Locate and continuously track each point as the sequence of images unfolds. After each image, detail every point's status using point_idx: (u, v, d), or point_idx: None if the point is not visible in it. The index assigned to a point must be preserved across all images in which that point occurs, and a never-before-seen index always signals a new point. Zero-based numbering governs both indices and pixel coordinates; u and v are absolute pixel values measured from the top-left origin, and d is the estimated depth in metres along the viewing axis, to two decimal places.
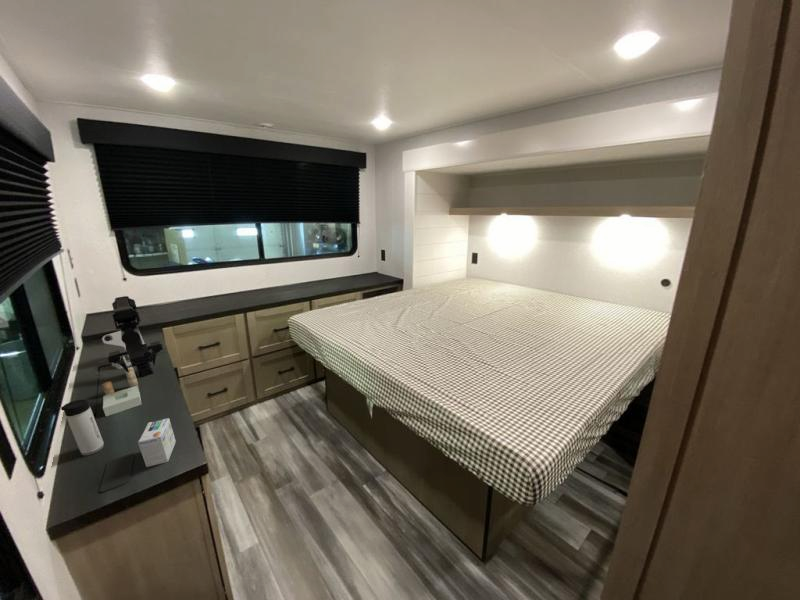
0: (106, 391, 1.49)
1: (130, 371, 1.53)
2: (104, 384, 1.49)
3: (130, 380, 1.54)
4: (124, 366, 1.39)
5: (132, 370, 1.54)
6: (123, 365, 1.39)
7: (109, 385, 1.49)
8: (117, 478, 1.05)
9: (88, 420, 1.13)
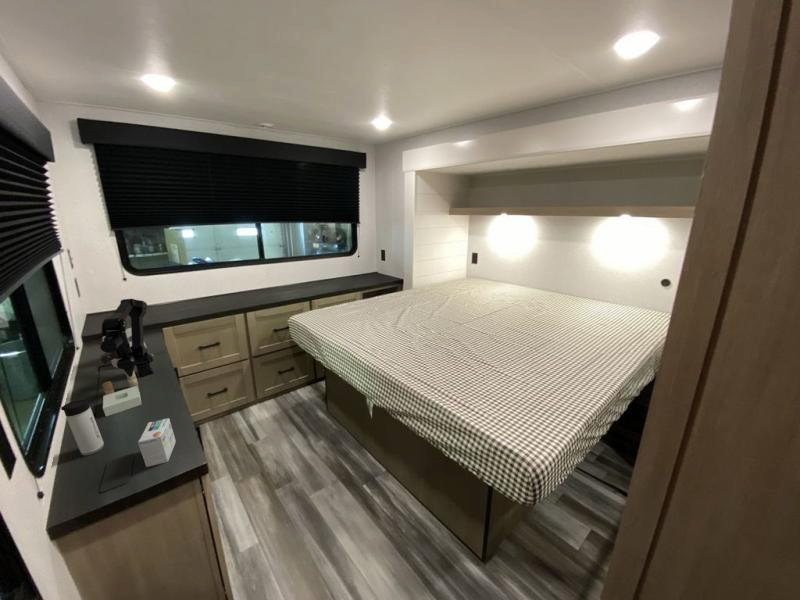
0: (106, 391, 1.49)
1: None
2: (104, 384, 1.49)
3: (130, 380, 1.54)
4: None
5: None
6: None
7: (109, 385, 1.49)
8: (117, 478, 1.05)
9: (88, 420, 1.13)
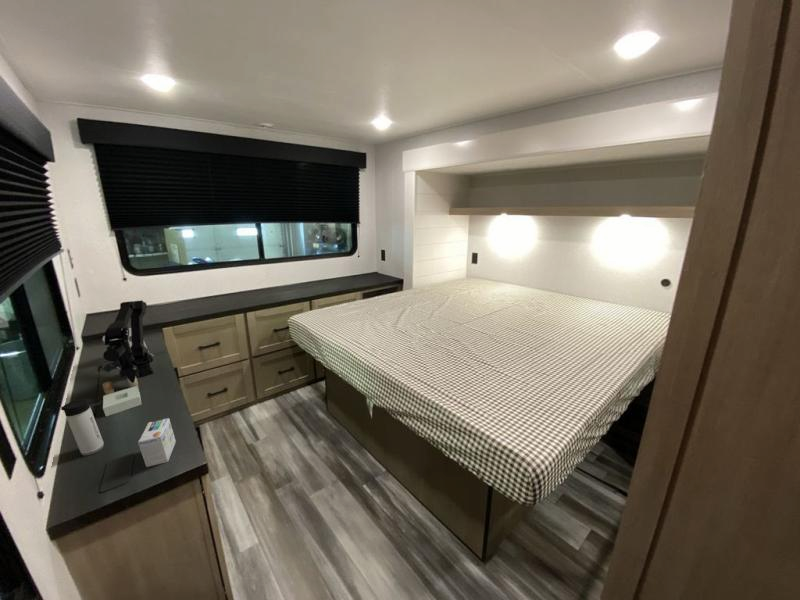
0: (106, 391, 1.49)
1: None
2: (104, 384, 1.49)
3: None
4: None
5: None
6: None
7: (109, 385, 1.49)
8: (117, 478, 1.05)
9: (88, 420, 1.13)
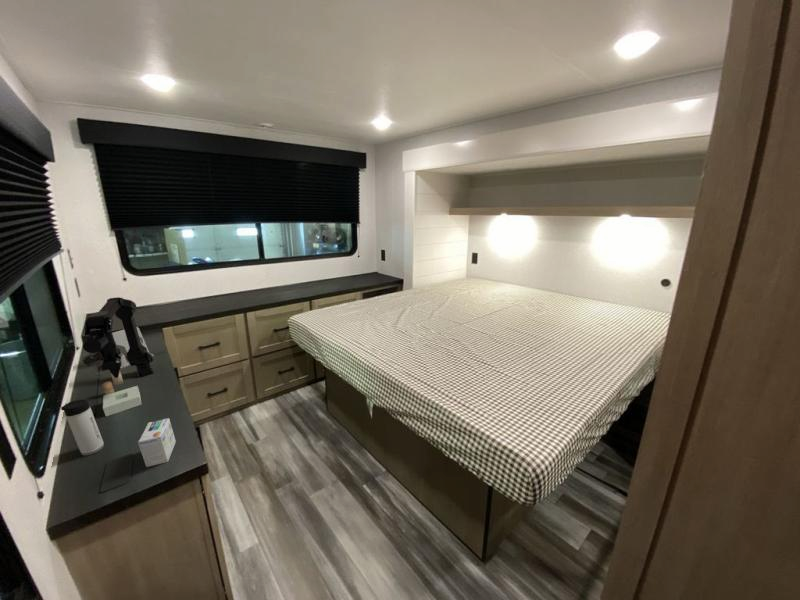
0: (106, 391, 1.49)
1: None
2: (104, 384, 1.49)
3: None
4: None
5: None
6: None
7: (109, 385, 1.49)
8: (117, 478, 1.05)
9: (88, 420, 1.13)
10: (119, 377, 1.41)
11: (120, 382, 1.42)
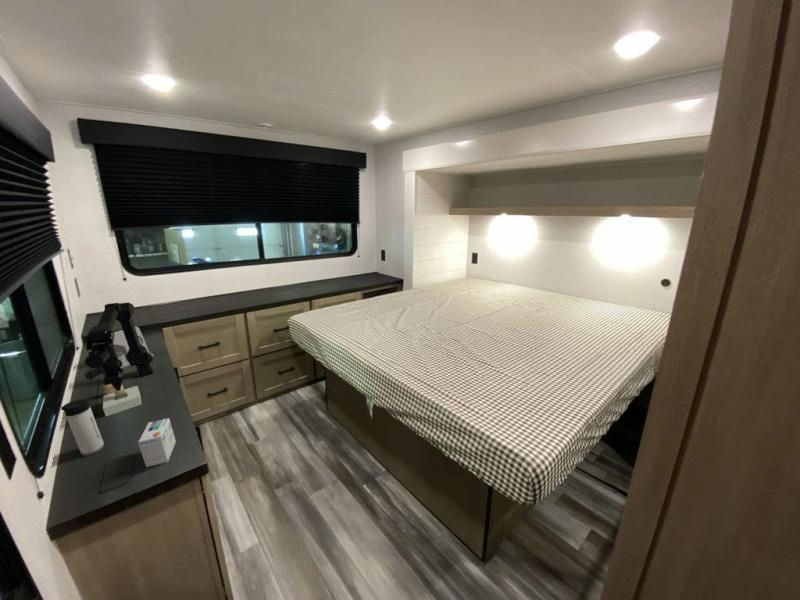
0: (106, 391, 1.49)
1: None
2: None
3: None
4: None
5: None
6: None
7: (109, 385, 1.49)
8: (117, 478, 1.05)
9: (88, 420, 1.13)
10: (121, 390, 1.41)
11: (122, 395, 1.42)
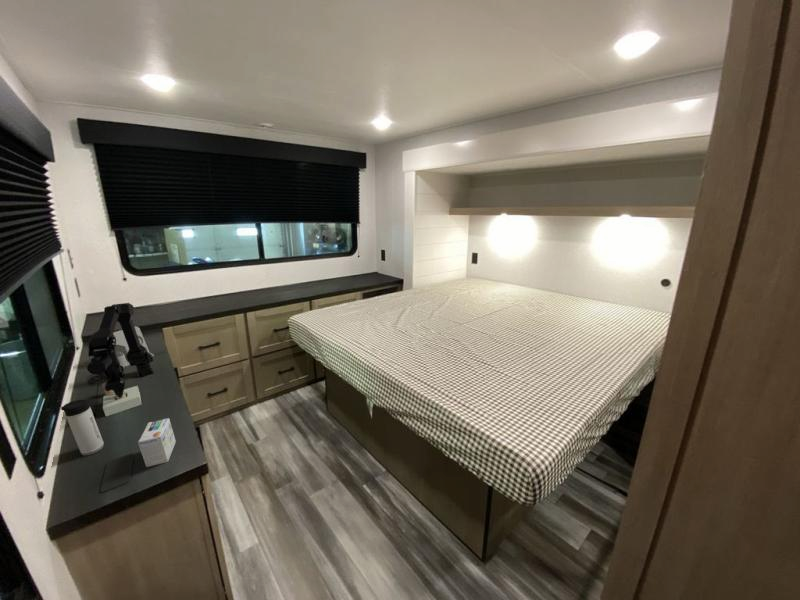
0: (106, 391, 1.49)
1: None
2: (104, 384, 1.49)
3: (118, 397, 1.41)
4: None
5: None
6: None
7: None
8: (117, 478, 1.05)
9: (88, 420, 1.13)
10: None
11: None
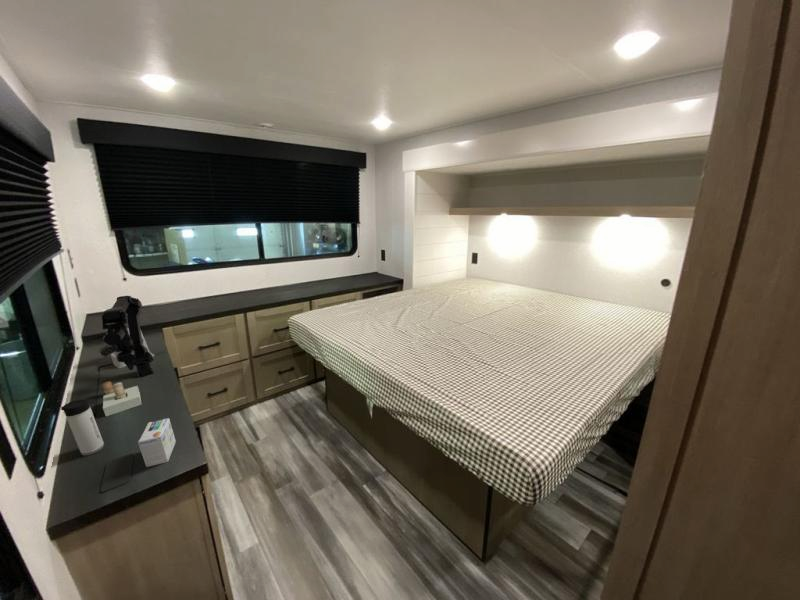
0: (106, 391, 1.49)
1: (118, 387, 1.40)
2: (104, 384, 1.49)
3: (118, 397, 1.41)
4: None
5: (121, 386, 1.41)
6: None
7: (109, 385, 1.49)
8: (117, 478, 1.05)
9: (88, 420, 1.13)
10: None
11: None
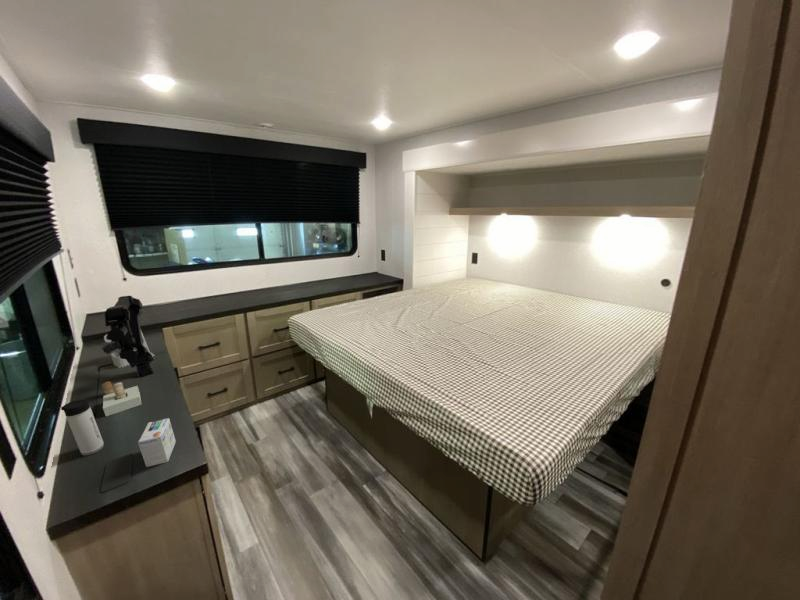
0: (105, 391, 1.49)
1: (118, 387, 1.40)
2: (103, 384, 1.49)
3: (118, 397, 1.41)
4: None
5: (121, 386, 1.41)
6: None
7: (108, 385, 1.49)
8: (118, 478, 1.05)
9: (88, 420, 1.13)
10: None
11: None
